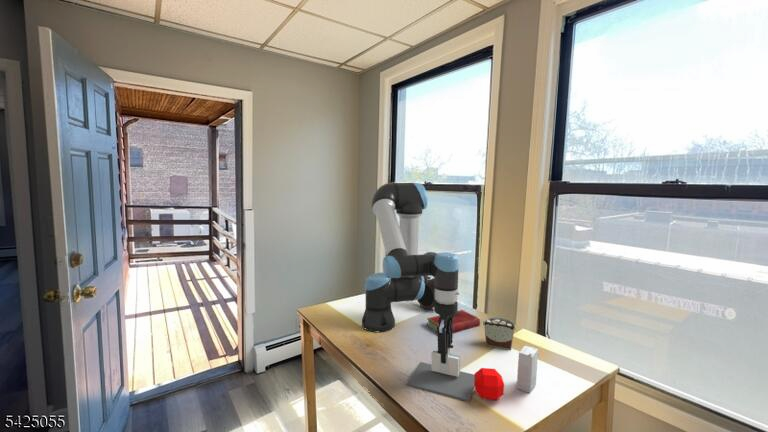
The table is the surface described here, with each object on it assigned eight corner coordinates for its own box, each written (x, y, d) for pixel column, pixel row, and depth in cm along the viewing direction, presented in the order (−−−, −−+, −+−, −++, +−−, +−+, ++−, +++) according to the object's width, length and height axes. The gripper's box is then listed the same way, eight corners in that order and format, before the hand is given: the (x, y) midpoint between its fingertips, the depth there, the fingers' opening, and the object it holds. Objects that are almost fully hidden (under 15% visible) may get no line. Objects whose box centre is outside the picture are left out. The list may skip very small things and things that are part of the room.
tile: (431, 370, 111) (431, 353, 111) (433, 367, 113) (433, 350, 113) (458, 376, 107) (458, 359, 107) (459, 373, 109) (459, 355, 109)
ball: (499, 388, 103) (500, 365, 103) (504, 405, 96) (505, 380, 95) (473, 386, 105) (473, 363, 104) (476, 403, 97) (476, 378, 96)
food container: (516, 343, 133) (516, 319, 132) (515, 350, 127) (516, 325, 126) (484, 337, 138) (484, 314, 137) (482, 344, 132) (482, 320, 131)
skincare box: (522, 379, 108) (523, 344, 107) (537, 385, 105) (538, 348, 104) (516, 388, 104) (517, 351, 102) (531, 394, 101) (532, 356, 99)
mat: (406, 384, 106) (406, 383, 106) (420, 363, 118) (420, 361, 118) (469, 402, 97) (469, 400, 97) (477, 377, 110) (477, 375, 110)
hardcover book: (480, 327, 150) (480, 318, 149) (443, 337, 140) (443, 327, 139) (462, 317, 160) (462, 309, 160) (426, 326, 150) (427, 317, 150)
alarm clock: (413, 307, 173) (413, 269, 171) (422, 303, 178) (423, 267, 176) (434, 315, 162) (435, 275, 160) (444, 311, 167) (444, 272, 165)
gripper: (451, 310, 100) (450, 384, 102) (462, 295, 113) (461, 360, 115) (427, 306, 103) (427, 378, 105) (441, 292, 116) (440, 356, 119)
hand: (445, 368), depth 110 cm, fingers closed on tile, 2 cm apart
